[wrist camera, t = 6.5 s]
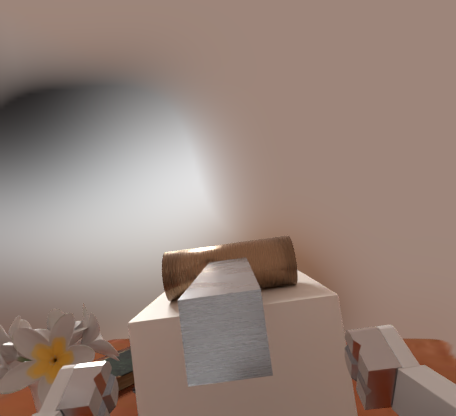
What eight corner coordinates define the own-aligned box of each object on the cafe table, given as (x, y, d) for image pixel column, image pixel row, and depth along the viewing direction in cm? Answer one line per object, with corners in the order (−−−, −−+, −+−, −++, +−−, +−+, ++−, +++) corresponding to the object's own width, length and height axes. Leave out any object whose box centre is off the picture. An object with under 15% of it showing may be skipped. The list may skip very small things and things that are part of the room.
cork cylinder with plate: (384, 361, 10) (364, 240, 10) (78, 400, 10) (66, 281, 10) (291, 280, 25) (284, 235, 25) (175, 296, 25) (169, 251, 26)
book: (98, 404, 66) (190, 358, 85) (96, 386, 67) (188, 344, 85) (63, 387, 78) (151, 349, 97) (62, 371, 78) (150, 337, 97)
